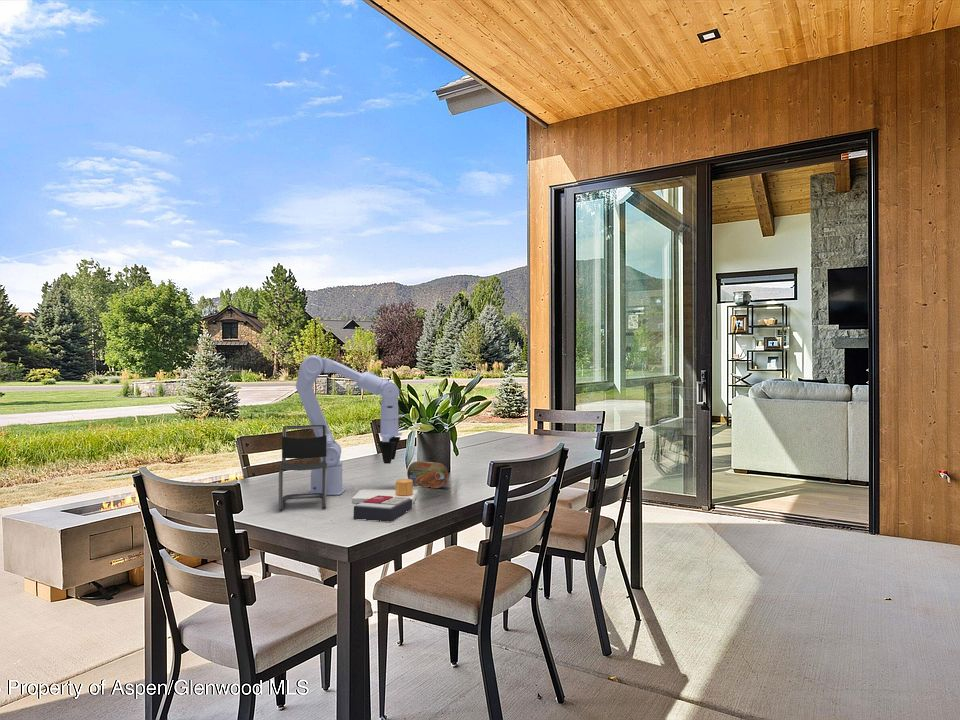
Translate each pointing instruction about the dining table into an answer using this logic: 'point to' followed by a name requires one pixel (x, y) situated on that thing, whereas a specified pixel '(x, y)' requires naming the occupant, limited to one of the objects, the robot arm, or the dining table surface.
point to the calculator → (382, 508)
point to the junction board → (368, 494)
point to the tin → (428, 474)
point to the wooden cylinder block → (404, 487)
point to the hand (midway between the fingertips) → (389, 461)
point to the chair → (303, 450)
